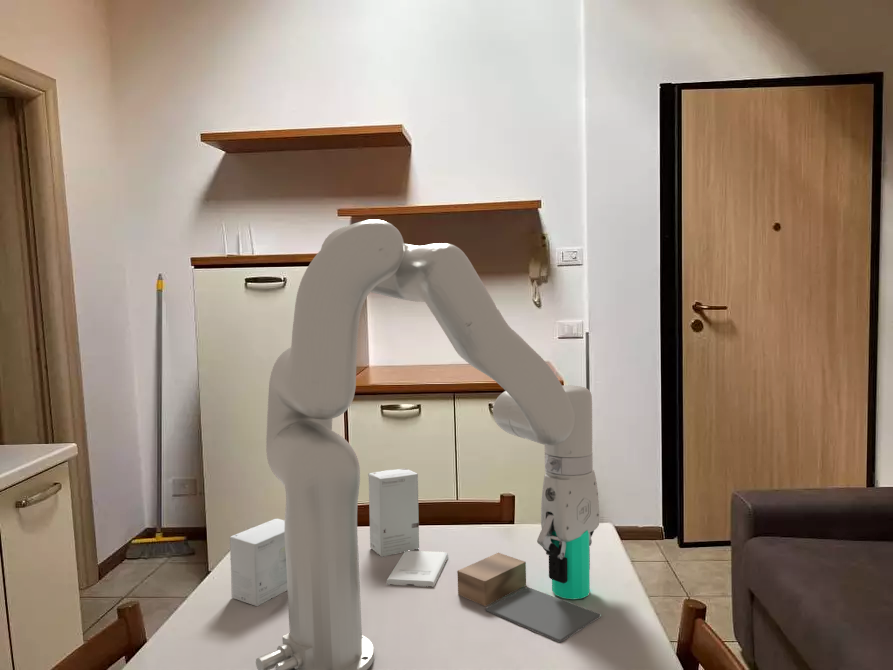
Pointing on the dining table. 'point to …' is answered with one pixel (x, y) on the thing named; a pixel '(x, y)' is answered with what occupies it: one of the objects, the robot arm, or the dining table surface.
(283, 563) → the skincare box
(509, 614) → the mat
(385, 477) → the skincare box
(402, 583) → the external hard drive
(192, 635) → the dining table surface
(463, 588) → the step block
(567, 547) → the candle
